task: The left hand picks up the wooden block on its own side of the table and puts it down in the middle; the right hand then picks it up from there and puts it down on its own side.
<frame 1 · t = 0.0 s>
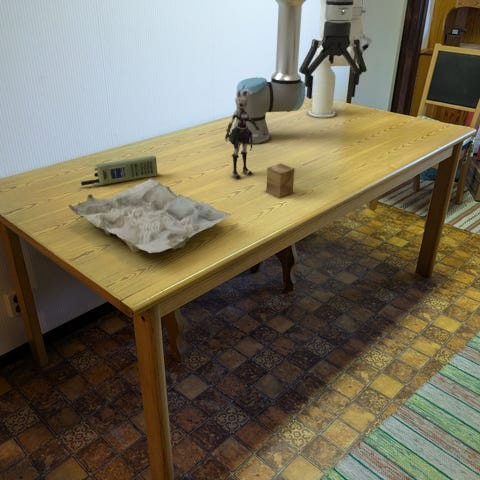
left hand: (330, 97, 153), 28 cm above the table, tool pointing down, fingers open, 13 cm apart
right hand: (344, 63, 185), 31 cm above the table, tool pointing down, fingers open, 9 cm apart
block: (279, 192, 160), on the table
grey bumpy flat piece: (150, 226, 139), on the table
handheld radio: (120, 181, 166), on the table
figurine: (240, 174, 172), on the table
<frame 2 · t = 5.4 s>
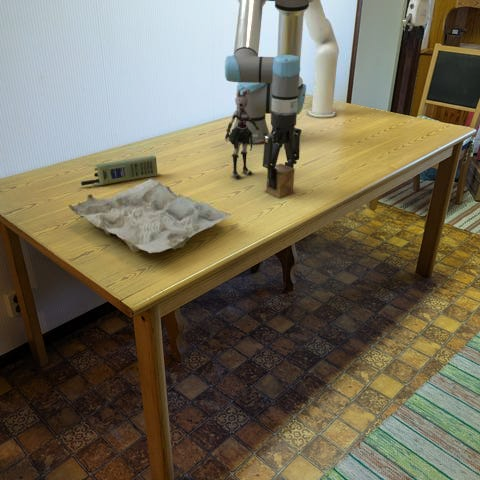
left hand: (280, 185, 159), 2 cm above the table, tool pointing down, fingers closed on block, 6 cm apart
right hand: (412, 39, 216), 34 cm above the table, tool pointing down, fingers open, 9 cm apart
block: (279, 192, 160), on the table, touching left hand
everything else where it was.
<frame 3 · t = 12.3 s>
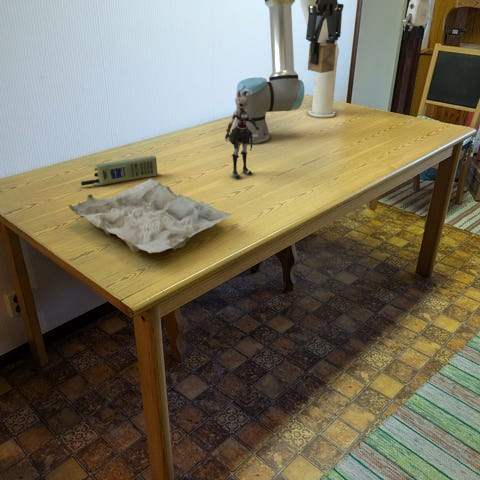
left hand: (321, 62, 164), 35 cm above the table, tool pointing down, fingers closed on block, 6 cm apart
right hand: (412, 39, 216), 34 cm above the table, tool pointing down, fingers open, 9 cm apart
block: (320, 70, 165), point 33 cm above the table, touching left hand
everything else where it was.
when the left hand's fingers open (4 cm above the table, at t = 19.7 s): block drops 2 cm, on the table.
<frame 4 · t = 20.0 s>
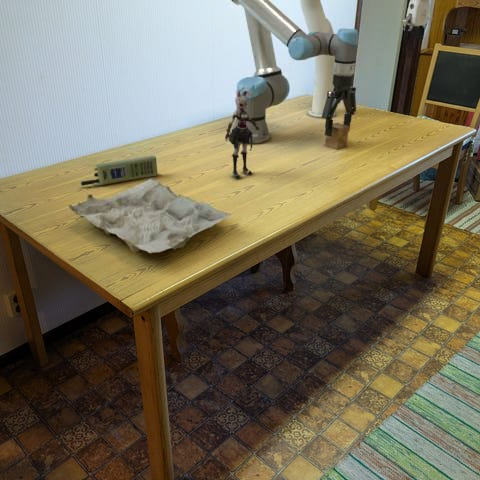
left hand: (337, 133, 197), 5 cm above the table, tool pointing down, fingers open, 10 cm apart
right hand: (412, 39, 216), 34 cm above the table, tool pointing down, fingers open, 9 cm apart
block: (335, 145, 200), on the table
everything else where it was.
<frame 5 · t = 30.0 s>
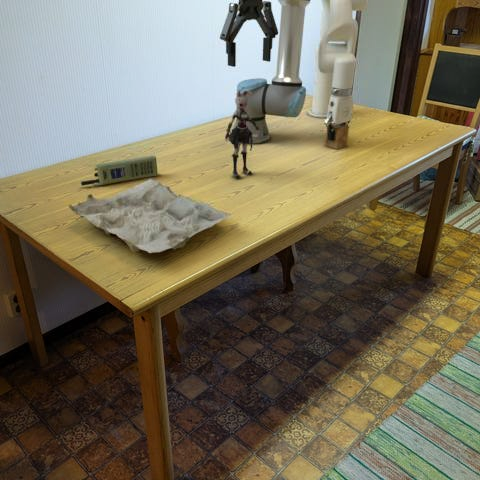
left hand: (249, 63, 150), 37 cm above the table, tool pointing down, fingers open, 13 cm apart
right hand: (336, 138, 198), 3 cm above the table, tool pointing down, fingers closed on block, 6 cm apart
block: (335, 145, 200), on the table, touching right hand
everything else where it was.
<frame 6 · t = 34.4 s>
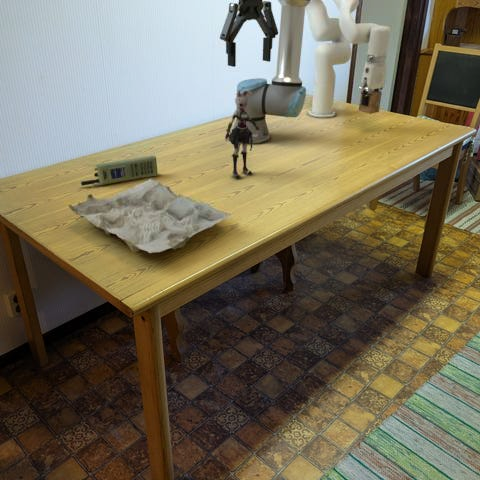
left hand: (249, 63, 150), 37 cm above the table, tool pointing down, fingers open, 13 cm apart
right hand: (369, 103, 212), 12 cm above the table, tool pointing down, fingers closed on block, 6 cm apart
block: (368, 111, 214), point 8 cm above the table, touching right hand
everything else where it was.
when the right hand's fingers open (5 cm above the table, at t = 38.7 s): block drops 2 cm, on the table.
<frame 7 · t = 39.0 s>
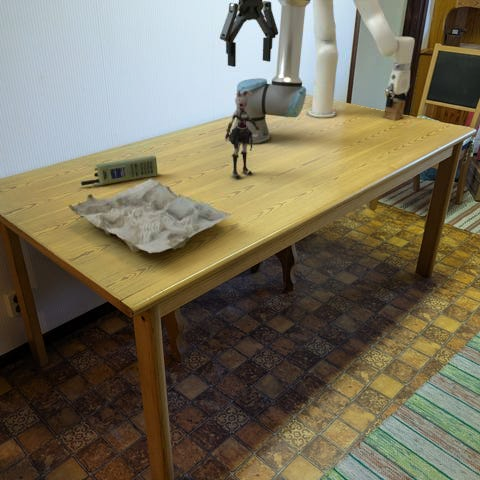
left hand: (249, 63, 150), 37 cm above the table, tool pointing down, fingers open, 13 cm apart
right hand: (395, 105, 233), 6 cm above the table, tool pointing down, fingers open, 9 cm apart
block: (393, 117, 236), on the table
everything else where it was.
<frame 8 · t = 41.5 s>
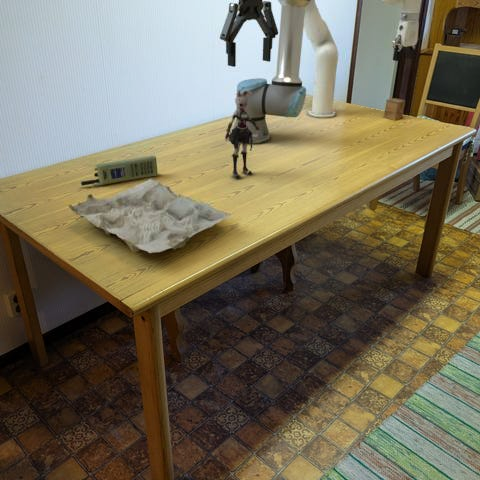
left hand: (249, 63, 150), 37 cm above the table, tool pointing down, fingers open, 13 cm apart
right hand: (402, 59, 223), 26 cm above the table, tool pointing down, fingers open, 9 cm apart
nothing on the table moved.
at the end: block inside the target area (0.1 cm from its centre), on the table; block tilted 0°; the two hands never held the block at the same time; the left hand is holding nothing; the right hand is holding nothing; block at rest at the end (0.0 cm/s) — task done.
